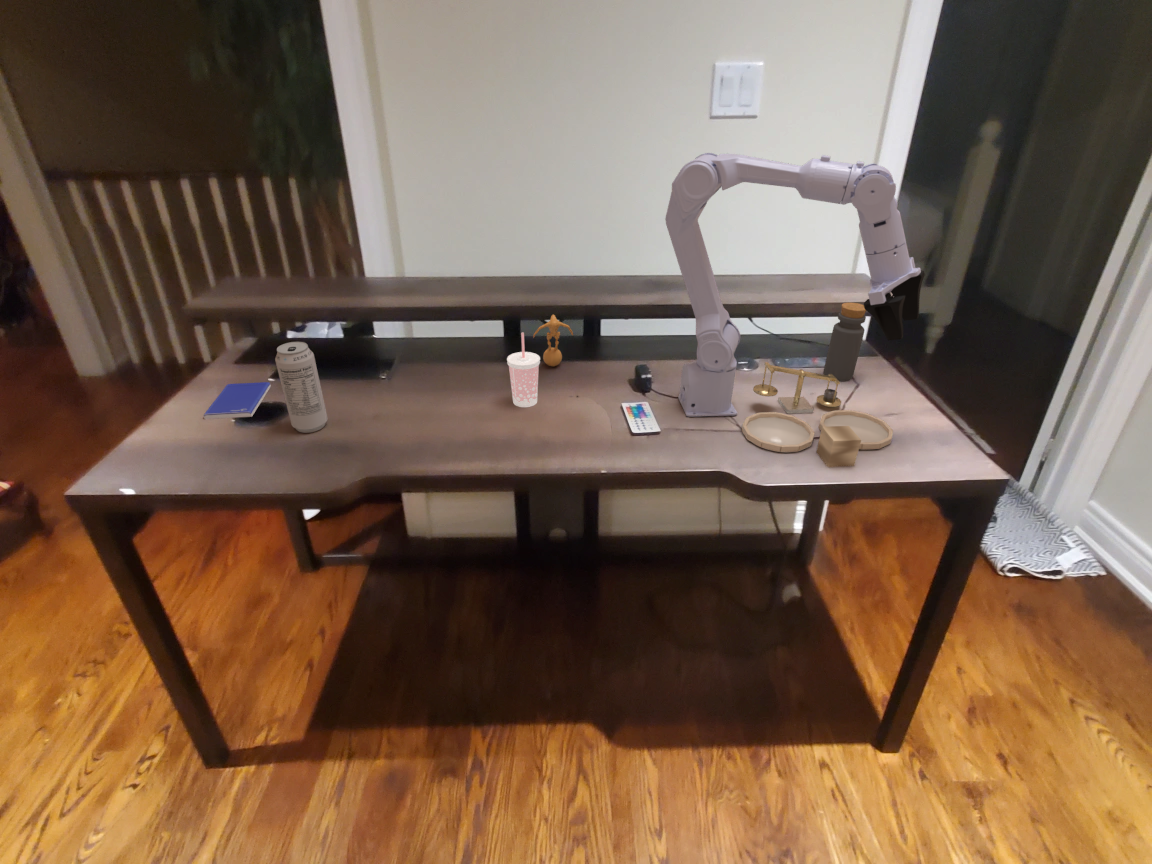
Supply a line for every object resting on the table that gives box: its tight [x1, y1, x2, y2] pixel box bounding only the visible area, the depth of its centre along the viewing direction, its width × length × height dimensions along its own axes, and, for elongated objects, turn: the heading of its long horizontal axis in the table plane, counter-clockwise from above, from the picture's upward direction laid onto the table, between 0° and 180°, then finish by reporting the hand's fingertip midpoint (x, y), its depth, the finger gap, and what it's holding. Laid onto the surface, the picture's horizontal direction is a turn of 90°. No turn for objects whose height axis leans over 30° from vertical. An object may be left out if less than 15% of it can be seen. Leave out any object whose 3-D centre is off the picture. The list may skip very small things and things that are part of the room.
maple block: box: [816, 426, 861, 468], centre depth 104 cm, size 4×4×5 cm
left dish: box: [741, 411, 815, 453], centre depth 111 cm, size 12×12×1 cm
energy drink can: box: [274, 341, 328, 434], centre depth 109 cm, size 6×6×15 cm
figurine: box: [532, 314, 574, 367], centre depth 132 cm, size 8×6×12 cm
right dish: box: [818, 409, 894, 451], centre depth 112 cm, size 12×12×1 cm
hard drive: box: [203, 381, 272, 420], centre depth 121 cm, size 2×8×12 cm
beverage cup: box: [506, 332, 541, 408], centre depth 118 cm, size 6×6×14 cm
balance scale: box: [752, 361, 842, 415], centre depth 119 cm, size 17×5×9 cm, turn 94°
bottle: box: [823, 302, 867, 382], centre depth 129 cm, size 6×6×15 cm
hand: (903, 328), depth 102 cm, fingers open, 7 cm apart
